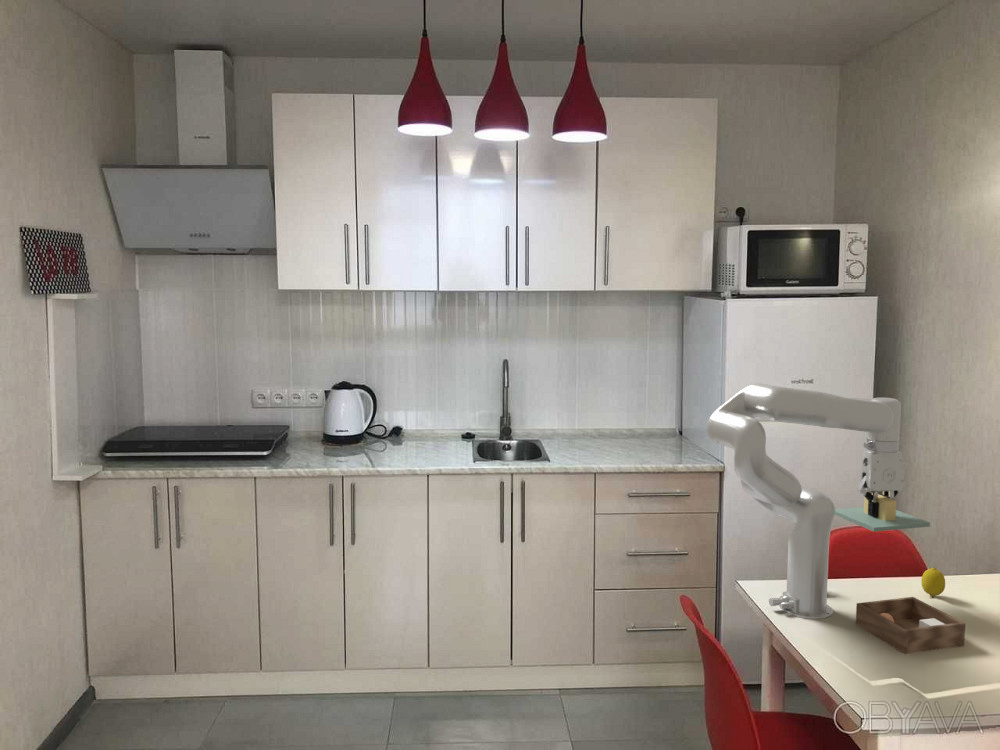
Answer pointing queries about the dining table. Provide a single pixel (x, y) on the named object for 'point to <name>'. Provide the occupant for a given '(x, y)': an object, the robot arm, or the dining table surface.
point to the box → (910, 625)
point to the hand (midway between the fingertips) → (879, 515)
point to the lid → (881, 516)
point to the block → (929, 622)
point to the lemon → (933, 582)
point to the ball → (888, 616)
